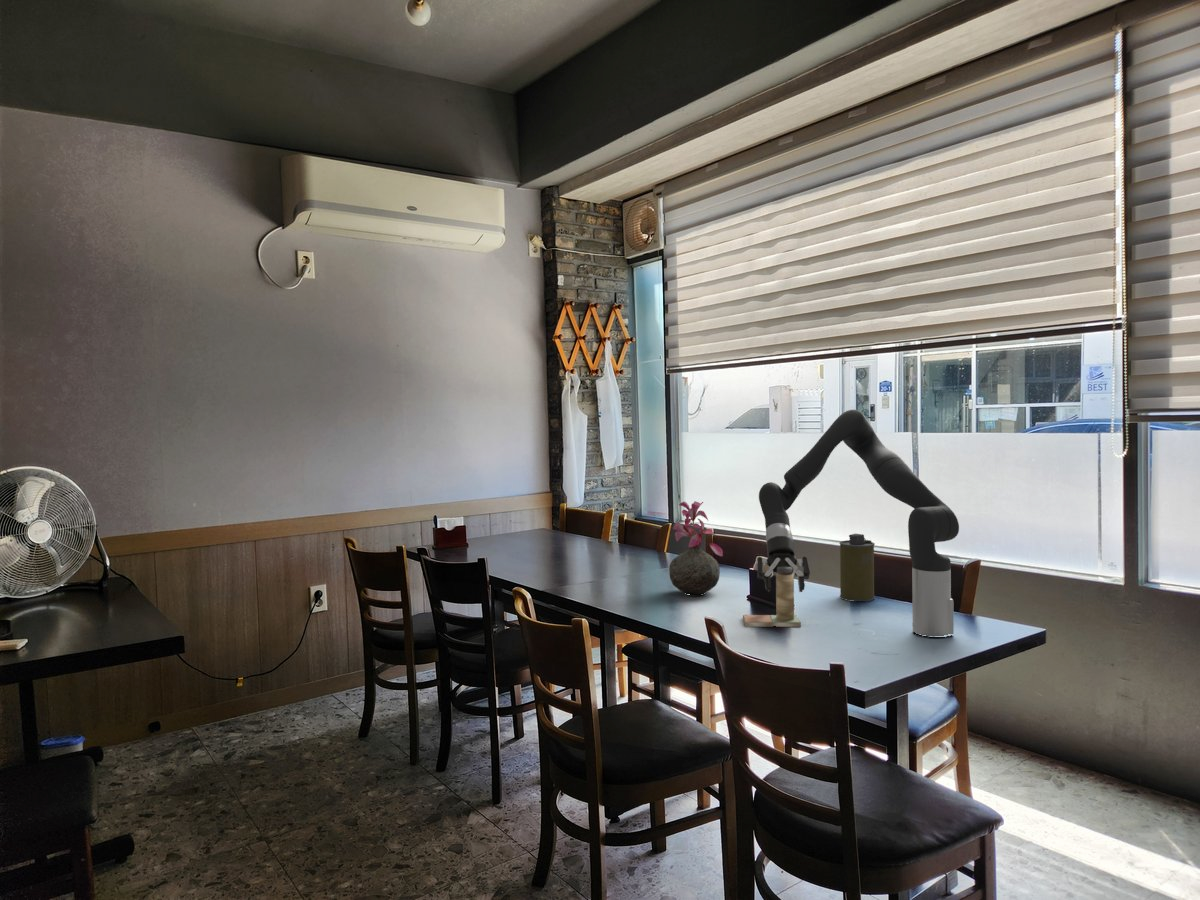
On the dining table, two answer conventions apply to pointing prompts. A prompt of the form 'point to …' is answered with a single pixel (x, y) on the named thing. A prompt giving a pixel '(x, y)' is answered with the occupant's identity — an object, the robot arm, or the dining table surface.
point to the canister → (857, 568)
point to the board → (769, 621)
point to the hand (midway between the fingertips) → (785, 590)
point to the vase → (694, 556)
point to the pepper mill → (784, 593)
